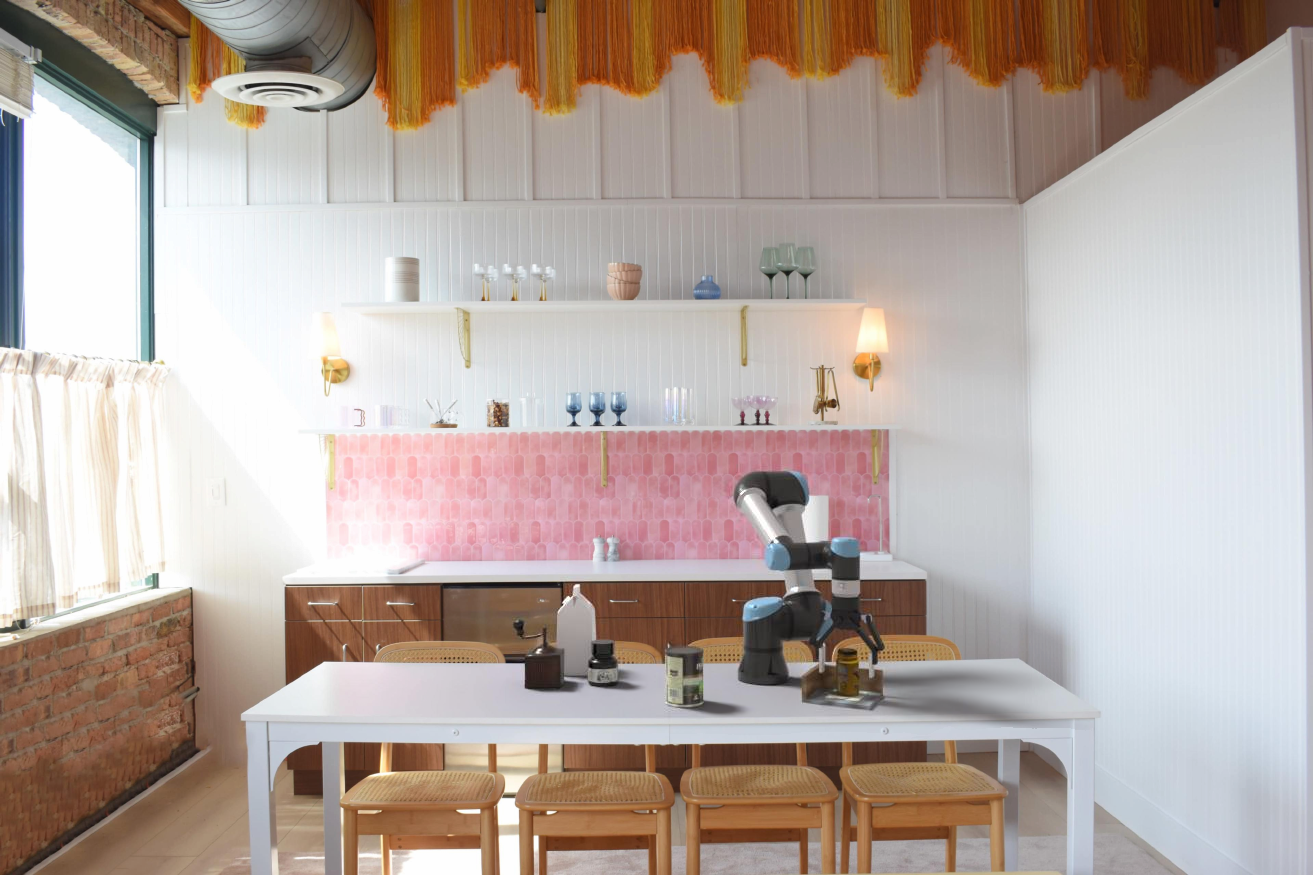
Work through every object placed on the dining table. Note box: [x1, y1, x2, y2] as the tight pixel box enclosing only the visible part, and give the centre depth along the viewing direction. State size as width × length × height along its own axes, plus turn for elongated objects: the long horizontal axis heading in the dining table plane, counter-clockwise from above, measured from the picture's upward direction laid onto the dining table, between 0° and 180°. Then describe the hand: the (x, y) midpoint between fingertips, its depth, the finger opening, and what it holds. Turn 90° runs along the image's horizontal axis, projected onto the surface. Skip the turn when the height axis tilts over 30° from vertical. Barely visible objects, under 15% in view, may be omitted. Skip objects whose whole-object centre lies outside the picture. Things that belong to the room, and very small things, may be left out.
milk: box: [555, 584, 597, 677], centre depth 282 cm, size 12×12×26 cm
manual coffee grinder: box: [512, 618, 566, 690], centre depth 266 cm, size 16×11×18 cm
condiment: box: [824, 647, 865, 699], centre depth 248 cm, size 7×8×12 cm
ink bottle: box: [587, 639, 619, 687], centre depth 266 cm, size 10×9×12 cm
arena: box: [801, 663, 884, 711], centre depth 248 cm, size 18×16×7 cm
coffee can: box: [664, 645, 705, 709], centre depth 245 cm, size 10×10×14 cm
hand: (846, 674), depth 248 cm, fingers open, 13 cm apart
